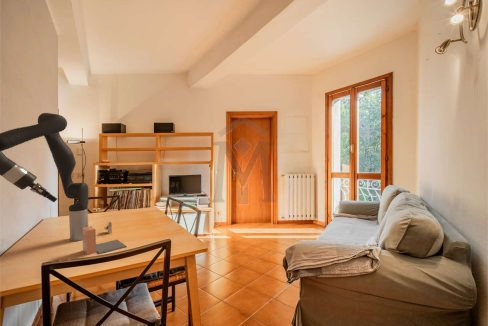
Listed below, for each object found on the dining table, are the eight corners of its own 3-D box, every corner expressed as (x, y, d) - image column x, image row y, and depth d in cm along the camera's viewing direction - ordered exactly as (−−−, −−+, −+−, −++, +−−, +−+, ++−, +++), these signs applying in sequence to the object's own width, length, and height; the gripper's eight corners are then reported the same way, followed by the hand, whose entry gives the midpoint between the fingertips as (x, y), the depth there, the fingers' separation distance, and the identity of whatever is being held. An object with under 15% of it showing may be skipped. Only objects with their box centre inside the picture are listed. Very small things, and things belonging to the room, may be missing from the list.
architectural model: (105, 235, 153) (105, 223, 153) (104, 232, 158) (103, 221, 158) (111, 234, 155) (111, 222, 155) (110, 231, 160) (109, 220, 160)
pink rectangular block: (83, 250, 127) (82, 227, 126) (92, 248, 130) (91, 226, 129) (87, 254, 121) (86, 230, 121) (96, 252, 124) (95, 229, 124)
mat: (91, 246, 132) (91, 245, 132) (117, 240, 142) (117, 239, 142) (99, 254, 122) (99, 253, 122) (126, 246, 131) (126, 246, 131)
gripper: (28, 170, 105) (64, 195, 114) (26, 170, 114) (59, 193, 123) (12, 184, 101) (50, 208, 110) (11, 182, 111) (46, 205, 120)
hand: (55, 200), depth 117 cm, fingers closed
